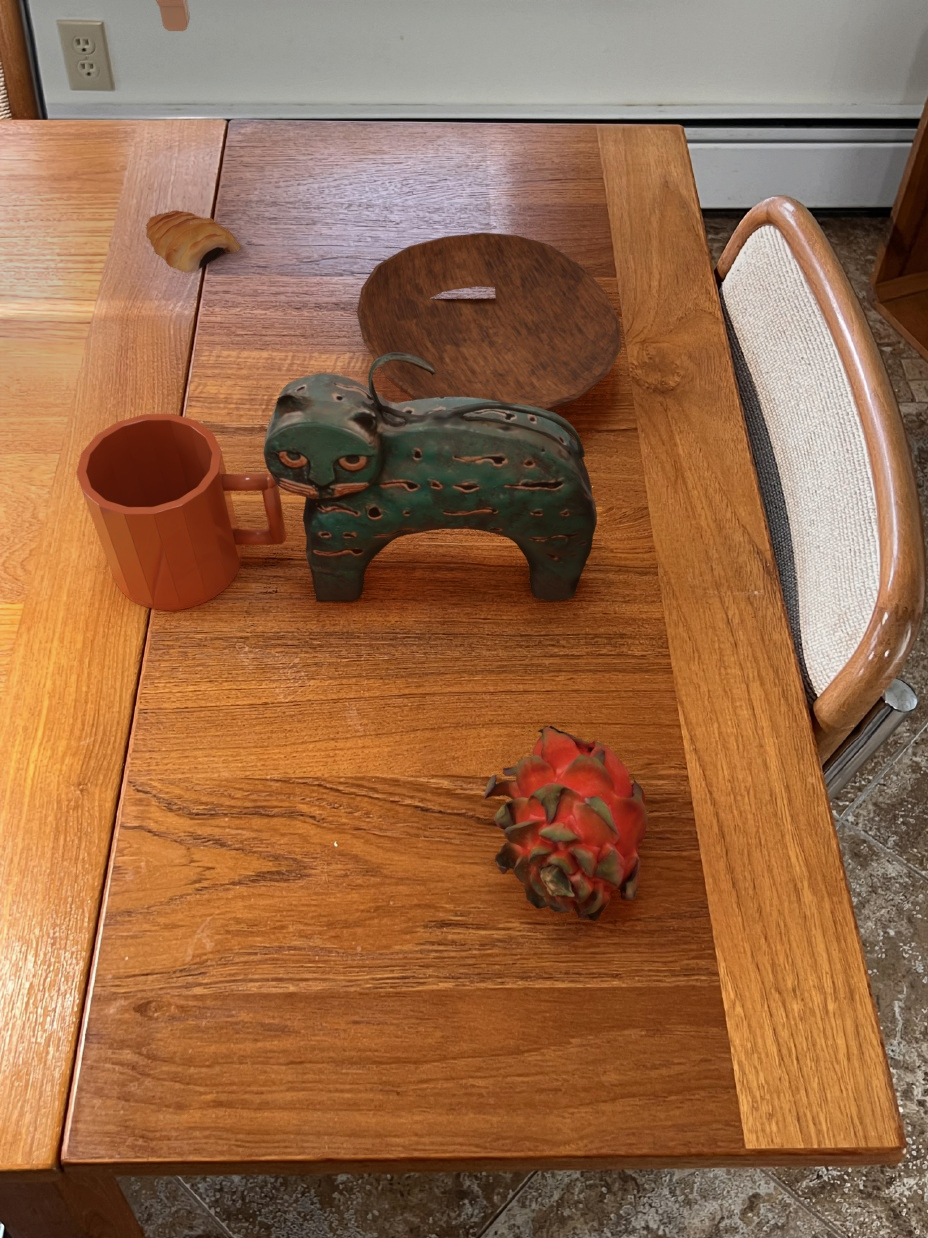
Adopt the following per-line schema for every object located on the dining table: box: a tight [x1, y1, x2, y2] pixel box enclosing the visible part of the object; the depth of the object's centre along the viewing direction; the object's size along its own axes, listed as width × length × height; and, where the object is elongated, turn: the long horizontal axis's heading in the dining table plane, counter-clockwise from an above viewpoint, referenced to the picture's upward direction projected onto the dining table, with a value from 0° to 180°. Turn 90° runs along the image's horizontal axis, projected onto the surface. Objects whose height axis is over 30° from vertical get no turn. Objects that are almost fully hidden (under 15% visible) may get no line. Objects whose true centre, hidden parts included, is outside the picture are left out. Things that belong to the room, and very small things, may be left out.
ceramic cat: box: [263, 352, 598, 603], centre depth 71 cm, size 20×6×20 cm, turn 90°
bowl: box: [356, 232, 622, 413], centre depth 90 cm, size 20×22×5 cm
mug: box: [76, 413, 288, 611], centre depth 76 cm, size 12×9×10 cm
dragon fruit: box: [483, 725, 649, 922], centre depth 64 cm, size 8×8×12 cm
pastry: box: [145, 209, 242, 274], centre depth 99 cm, size 9×7×4 cm
